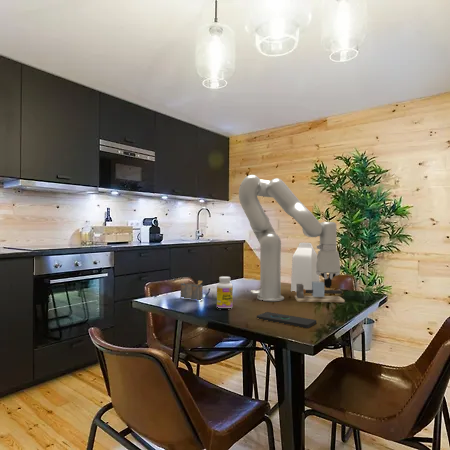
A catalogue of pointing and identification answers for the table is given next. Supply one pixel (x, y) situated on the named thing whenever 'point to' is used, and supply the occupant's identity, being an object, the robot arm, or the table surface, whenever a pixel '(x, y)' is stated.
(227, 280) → the supplement bottle
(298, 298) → the board
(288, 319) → the dark grey flat block
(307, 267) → the milk
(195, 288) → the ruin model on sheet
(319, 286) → the sleeve
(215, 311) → the table surface
